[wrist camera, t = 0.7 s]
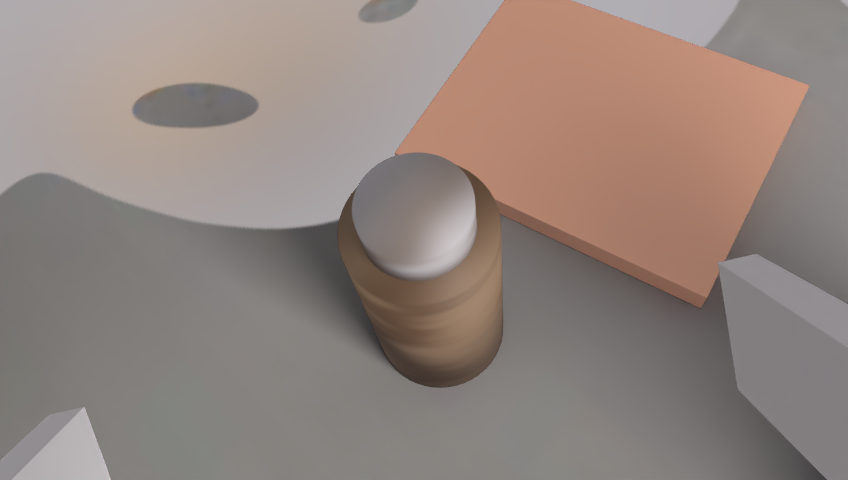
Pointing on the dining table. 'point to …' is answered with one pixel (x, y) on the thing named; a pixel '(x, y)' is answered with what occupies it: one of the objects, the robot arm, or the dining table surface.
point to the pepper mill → (427, 266)
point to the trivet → (612, 137)
